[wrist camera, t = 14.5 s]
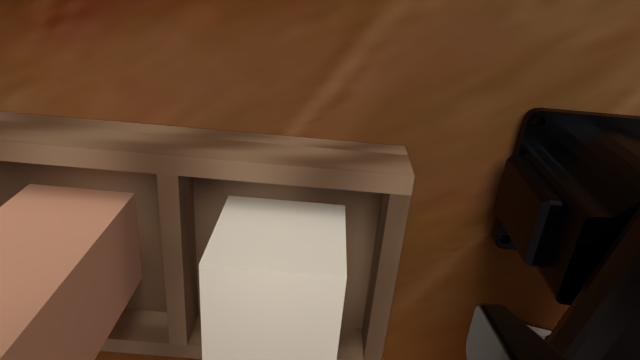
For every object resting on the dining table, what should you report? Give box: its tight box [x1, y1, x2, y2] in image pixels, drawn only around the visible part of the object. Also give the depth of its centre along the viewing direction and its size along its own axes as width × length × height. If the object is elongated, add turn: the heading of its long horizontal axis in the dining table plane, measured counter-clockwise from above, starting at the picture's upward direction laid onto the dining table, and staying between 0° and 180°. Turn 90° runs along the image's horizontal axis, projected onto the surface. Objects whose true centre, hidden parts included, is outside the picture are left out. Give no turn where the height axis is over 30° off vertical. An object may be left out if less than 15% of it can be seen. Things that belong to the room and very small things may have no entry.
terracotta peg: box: [0, 184, 142, 360], centre depth 17 cm, size 4×4×12 cm
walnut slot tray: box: [0, 112, 415, 360], centre depth 22 cm, size 18×10×3 cm, turn 85°
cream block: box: [199, 196, 347, 360], centre depth 20 cm, size 5×5×5 cm
